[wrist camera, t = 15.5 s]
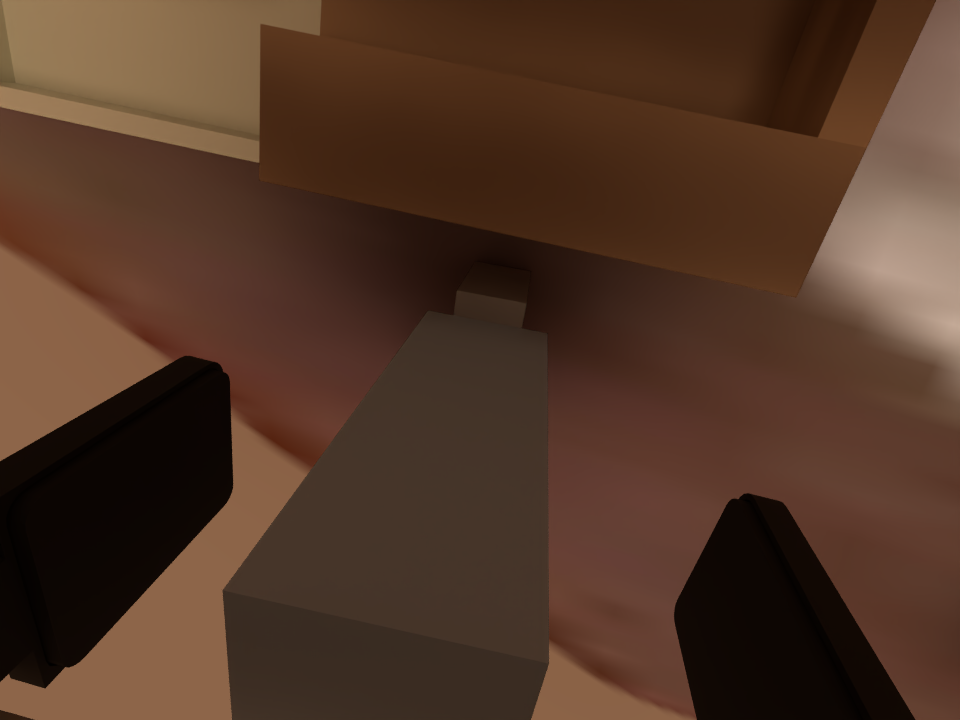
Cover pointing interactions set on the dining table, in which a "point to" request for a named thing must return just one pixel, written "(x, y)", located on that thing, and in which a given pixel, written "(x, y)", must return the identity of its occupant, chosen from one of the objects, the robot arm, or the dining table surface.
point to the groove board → (594, 120)
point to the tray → (146, 65)
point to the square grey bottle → (413, 538)
